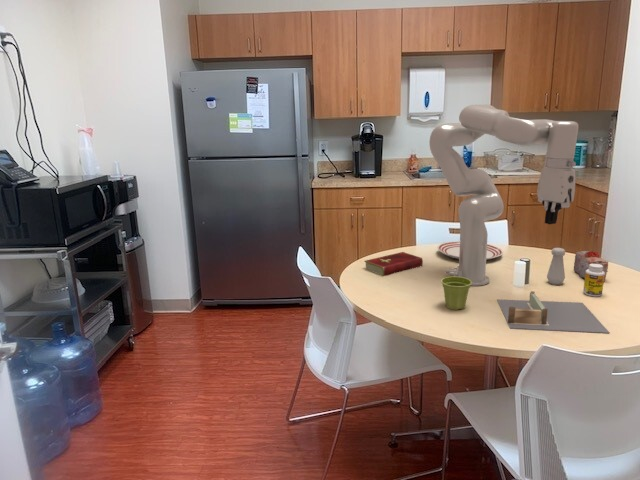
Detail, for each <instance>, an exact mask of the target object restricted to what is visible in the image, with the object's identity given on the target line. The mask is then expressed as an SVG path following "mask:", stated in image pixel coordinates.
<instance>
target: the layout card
mask: <svg viewBox="0 0 640 480" xmlns="http://www.w3.org/2000/svg"><path fill="white" fill-rule="evenodd" d="M496 301H497V303H498V305H499V307H500V309H501V311H502V314H503V316H504V318H505V320H506V322H507V324H508V327H509V329H510V330H512V329H514V330H530V331H531V330H532V331H548V332H550V331H553V332H572V333H591V334H609V333H610V331H609V330H608V329H607V328H606V326H604V325H603V323H602V322H601V321H600V320H599V319H598V318H597V317H596V316H595V315H594V313H592V311H591V310H589V308H588V307H587V306H586V305H585V303H583V302H580V301H579V302H578V301H577V302H575V301H573V302H572V301H553V300H552V301H549V300H547V301H546V300H540V301H541V303H542V304H543V306H544V307H545V308H546V309H548V311H547V321H546V324H542V321H541V320H540V324H526V323H509V322H508V315H509V307H515V308H516V309H533V308H532V306H531V305H530V303H529V299H528V300H527V299H523V300H522V299H501V298H500V299H496ZM533 310H534V309H533Z"/></svg>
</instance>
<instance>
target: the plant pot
mask: <svg viewBox="0 0 640 480" xmlns="http://www.w3.org/2000/svg"><path fill="white" fill-rule="evenodd" d="M454 276H455V275H452V276H446V277H443V278H442V279H440V282H441V284H442V287H443V293H444V295H443V296H444V301H445V302H444V303H445V306H446V307H447V308H448V309H450V310H454V311H455V310H464V309H465V308H466V304H467V301H468V300H467V299H468V294H469V291H470V288H471V286H470V285H471V284H472V281H471V280H469V279H467V278H464V277H454Z"/></svg>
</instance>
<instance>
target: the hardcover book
mask: <svg viewBox="0 0 640 480" xmlns="http://www.w3.org/2000/svg"><path fill="white" fill-rule="evenodd" d="M363 262H365V270H368V271H370V272H372V273H375V274H378V275H379V276H380V275H381V276H382V277H386V276H389V275H393V274H398V273H401V272H405V271H409V270H413V269H416V267H417V268H420V266H421V267H423V262H424V259H423V257H420V256H419V255H418V256H417V255H414V254H411V253H407V252H405V251H401V252H397V253H392V254H389V255H382V256H379V257H375V258H370V259H366V260H364V261H363ZM412 268H413V269H412Z"/></svg>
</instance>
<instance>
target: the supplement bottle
mask: <svg viewBox="0 0 640 480" xmlns="http://www.w3.org/2000/svg"><path fill="white" fill-rule="evenodd" d="M602 270H603V266H602V265H600V264H589V269H587V270H586V273H585V278H584V282H583V289H582V292H583V294H585V295H587V296H588V297H594V298H597V297H601V296H602V295H603V290H604V276H605V273H604V271H602Z"/></svg>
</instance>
